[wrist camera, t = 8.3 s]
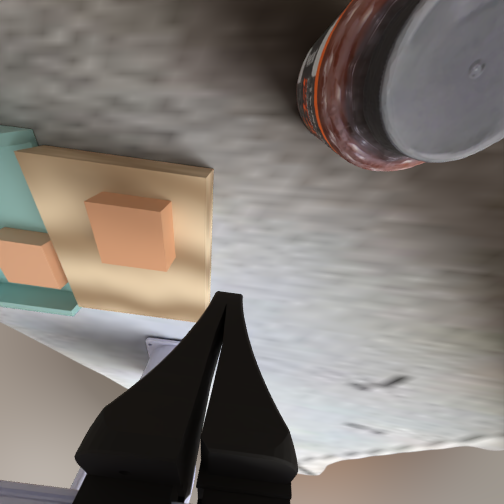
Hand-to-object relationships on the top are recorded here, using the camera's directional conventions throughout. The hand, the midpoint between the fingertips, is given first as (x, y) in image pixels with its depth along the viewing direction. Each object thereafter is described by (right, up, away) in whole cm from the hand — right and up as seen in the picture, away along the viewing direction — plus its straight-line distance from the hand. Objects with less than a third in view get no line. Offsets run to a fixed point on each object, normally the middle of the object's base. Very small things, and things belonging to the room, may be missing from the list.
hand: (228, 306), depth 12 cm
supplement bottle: (+7, +13, +2) cm, 15 cm away
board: (-9, +4, +9) cm, 14 cm away
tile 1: (-7, +4, +5) cm, 10 cm away
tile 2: (-20, +2, +10) cm, 22 cm away
